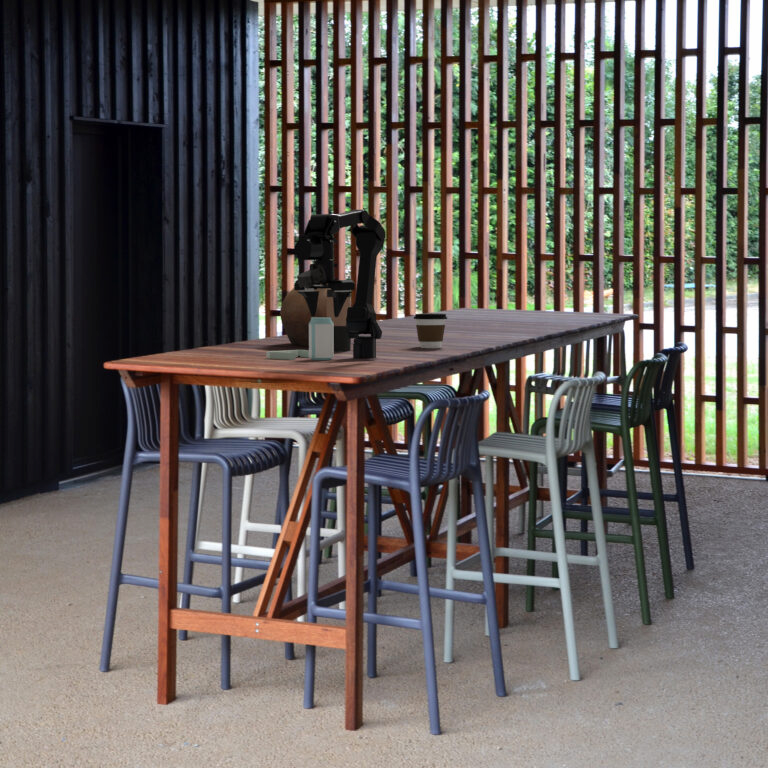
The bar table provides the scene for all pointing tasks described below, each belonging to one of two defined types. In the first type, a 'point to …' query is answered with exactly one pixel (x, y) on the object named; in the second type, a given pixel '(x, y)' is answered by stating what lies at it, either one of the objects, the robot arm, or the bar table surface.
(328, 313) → the travel mug
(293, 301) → the pottery
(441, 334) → the coffee cup
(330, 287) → the robot arm
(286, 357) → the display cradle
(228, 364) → the bar table surface
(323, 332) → the can
